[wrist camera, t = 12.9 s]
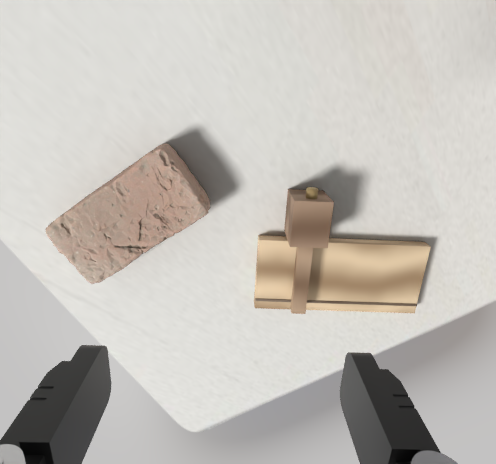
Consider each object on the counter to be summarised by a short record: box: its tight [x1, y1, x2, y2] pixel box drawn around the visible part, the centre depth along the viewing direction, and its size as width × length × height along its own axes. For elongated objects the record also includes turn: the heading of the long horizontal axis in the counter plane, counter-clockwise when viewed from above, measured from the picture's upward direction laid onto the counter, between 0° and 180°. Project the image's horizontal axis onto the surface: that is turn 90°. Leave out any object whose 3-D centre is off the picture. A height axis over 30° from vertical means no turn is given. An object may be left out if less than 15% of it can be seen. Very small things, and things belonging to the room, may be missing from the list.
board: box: [254, 235, 431, 313], centre depth 44 cm, size 9×20×2 cm, turn 87°
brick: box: [46, 144, 210, 284], centre depth 39 cm, size 16×8×5 cm, turn 123°
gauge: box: [284, 187, 334, 314], centre depth 41 cm, size 15×4×5 cm, turn 177°
